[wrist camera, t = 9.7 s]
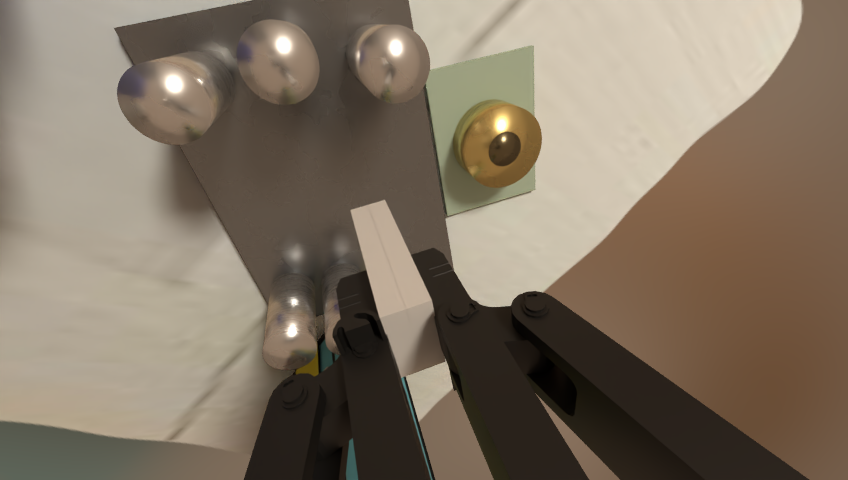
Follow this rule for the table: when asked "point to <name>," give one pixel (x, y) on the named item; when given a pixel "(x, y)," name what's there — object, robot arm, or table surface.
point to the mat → (454, 97)
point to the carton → (315, 367)
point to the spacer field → (294, 139)
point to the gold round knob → (497, 142)
